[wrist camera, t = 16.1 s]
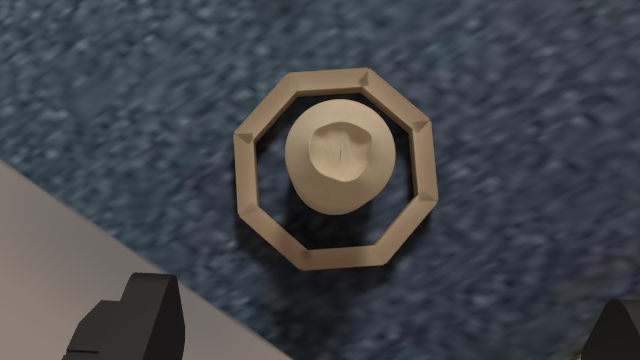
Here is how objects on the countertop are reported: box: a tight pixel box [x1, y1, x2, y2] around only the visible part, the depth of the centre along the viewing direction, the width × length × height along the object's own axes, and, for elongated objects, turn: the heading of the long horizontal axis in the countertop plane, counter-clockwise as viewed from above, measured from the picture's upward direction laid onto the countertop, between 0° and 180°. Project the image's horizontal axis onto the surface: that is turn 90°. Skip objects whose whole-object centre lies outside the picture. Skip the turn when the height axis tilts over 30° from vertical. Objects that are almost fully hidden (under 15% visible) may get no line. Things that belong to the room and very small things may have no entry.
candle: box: [285, 99, 395, 215], centre depth 31 cm, size 6×6×10 cm
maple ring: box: [234, 68, 438, 271], centre depth 36 cm, size 12×12×2 cm
